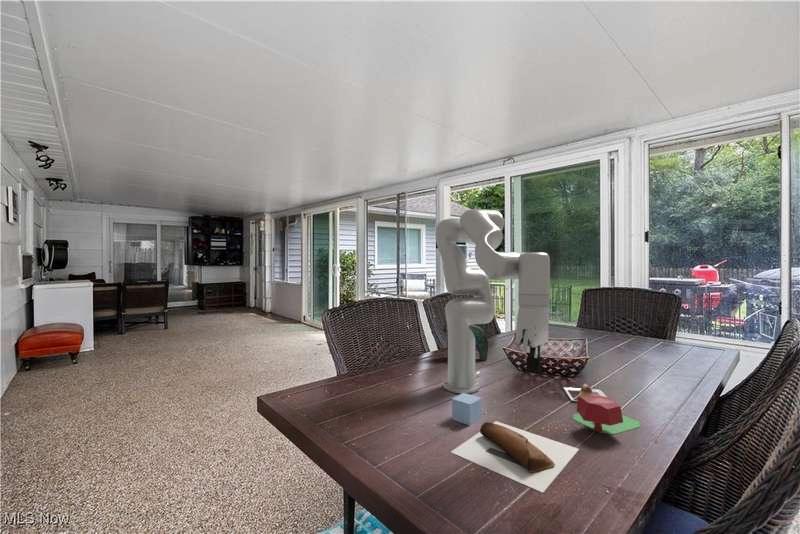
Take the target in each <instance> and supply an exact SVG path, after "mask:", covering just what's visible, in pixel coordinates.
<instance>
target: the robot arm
mask: <svg viewBox="0 0 800 534" xmlns="http://www.w3.org/2000/svg"><path fill="white" fill-rule="evenodd" d="M504 226H505V220H504V217H503V215H502V214H501V212H500V211H498V210H495V209H485V208H484V209H483V208H472V209H467V210H466V211H464V212H462V214H461V215H460V218H446V219H442V220H441V221H440V222H439V223H438V224H437V225H436V229H435V236H434V237H435V243H436V247H437V249H438V252H439V254H440V255H439V256H440V257H441V261H442V268H443V275H444V282H445V288H446V291H447V292H448V294H450V295H454V296H455V295H456V296H459V295H460V296H462V295H463V296H465V295H472V296H473V297H458V298H454V299H451V300H449V301H448V302H447V303H445V307H444V308H445V309H444V313H445V319H446V320H445V322H446V321H447V328H448V335H447V339H448V359H447V379H446V380H445V381H443V388H444V389H445V390H446V391H448V392H450V393H451V392H452V393H454V394H462V393H466V394H472V393H473V394H474V393H476V392H478V391H480V387H481V386H480V383H479V382H478V381H476V379H477V378H479V377H481V372H480V371H476V347H475V336H474V334H473V332H472V331H471V329H470V328H469V325H475V326H476V325H477V324H481V325H484V324H489V323H491V322H492V321H493V319H494V317H495V306H494V299H493V295H492V294H493V293H492V288H491V283H490V282H491V281H490V279H491V280H495V281H499V280H500V281H503V280H506V281H507V280H514V281H515V280H518V285H517V286H518V287H517V288H518V292H517V293H518V294H517V296H518V299H517V300H518V302H517V303H518V305H517V306H518V310H517V316H516V328H515V344H516V346H521V345H522V352H523V353H525V359H526V360H525V361H526V362H525V364H526V366H525V368H526V370H525V371H526V372H528V373H531V374H537V375H538V374H540V373H541V372H542V355H543V347H544V345H545V343H547V342H548V341H549V334H550V331H549V330H550V327H549V323H550V322H549V311H548V309H549V308H550V307H551V305H550V304H551V303H550V300H551V299H550V297H551V295H550V294H551V292H550V291H551V290H550V289H551V285H550V284H551V275H550V274H551V260H550V259H551V258H550V255H549V254H548V253H547V252H539V251H538V252H533V251H531V252H525V251H524V252H523V251H496V250H497V248H499V246H501V244H502V242H503V240H504V239H503V237H504V235H503V230H504ZM457 243H468V244H469V243H472V244H473V243H474V246H475V247H474V258H475V262H476V265H477V266H478V267H479V268H476V267H475V268H473V267H470V268H469V267H468V265H467V259H466V255H465V253H464V252H463V250H462V249H461V248H460V246H459V245H457Z"/></svg>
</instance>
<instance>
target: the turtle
mask: <svg viewBox="0 0 800 534" xmlns="http://www.w3.org/2000/svg"><path fill="white" fill-rule="evenodd" d="M577 400H578V401H577V402H576V403H577V405H576V412H577V413H574V414H572V415H573V416H572V420H573V421H576V422H577V423H580V424H582V425H583V426H586V427H587V428H589V429H591V430H594V431H596V432H598V433H599V434H608V435H617V434H621V433H625V432H627V431H631V430H635V429H639V428H641V425H640V421H637V420H635V419H633V418H630V417H628V416H626V415H624V414H623V413H622V407H621V405H620V404H618V402H616V401H615V400H613V399H612V398H611V397H608V396H606V397H604V396H600V395H599V394H597V393H593V394H592V395H587V396H582V397H580V396H578V397H577Z"/></svg>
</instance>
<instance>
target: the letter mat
mask: <svg viewBox="0 0 800 534" xmlns="http://www.w3.org/2000/svg"><path fill="white" fill-rule="evenodd" d="M493 423H494V424H498V425H501V426H504V427H506V428H509V429H511V430H513V431H515V432H517V433H519V434H521V435H523V436H524V437H525V438H527V439H528V441H529V442H530V443H532V444H533V445H534V446H535V447H537V448H538V449H539V450H541V451H542V452H543V453H544V454H545V455H547V456H548V457H549V458H550V459H551V460H552V461H553V462H554V464H555V466H553V467H551V468H549V469H546V470H543V471H540V472H534V473H530V472H529V471H528V469H526V468H524V467H523V466H522V465H521V464H520V463H519V462H517V461H516V460H515V459H514V458H512V457H511V456H510V455H509V454H508V453H507V452H505V451H504V450H502V449H501V448H500V447H499V446H497V445H496V444H495V443H493V442H492V441H491V440H489V439H488V438H486V437H485V436H483V435H482V434H481V433H480V431H479V432H477V433H476V434H474V435H473V436H471V438H469V439H467V440H466V441H464V442H463V443H461V444H460V445H458V446H457V447H456V448H454V449H452V450H451V451H450V453H451V454H453V455H456V456H458V457H460V458H462V459H463V460H464V459H465V460H467V461H470V462H471V463H473V464H476V465H479V466H480V467H483V468H486V469H487V470H490V471H492V472H495V473H496V474H499V475H501V476H504V477H505V478H507V479H509V480H512V481H515V482H517V483H519V484H522V485H524V486H527V488H530V489H533V490H535V491H537V492H540V493H542V494H544V493H545V491H546V490H547V489H548V488H549V486H551V484H552V483H553V482H554V480H556V479H557V477H558V476H559V475H560V473H561V472H563V470H564V468H566V466H567V465H568V464H569V463H570V461H571V460H572V459H573V458H574V456H575V455H576V454H577V453H578V452H579V450H580V449H579V448H578V447H574V446H571V445H570V444H569V445H568V444H565V443H563V442H560V441H556V440H554V439H552V438H548V437H544V436H541V435H539V434H535V433H532V432H529V431H528V430H527V431H526V430H523V429H520V428H517V427H515V426H512V425H509V424H505V423H504V422H503V423H502V422H500V421H497V420H495V421H494V422H493Z"/></svg>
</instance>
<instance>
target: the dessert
mask: <svg viewBox="0 0 800 534" xmlns="http://www.w3.org/2000/svg"><path fill="white" fill-rule="evenodd" d="M562 388H563V390H564V391H565V393H566V394H567V397H568V398H569V399H570V401H572V402H576V403H577V401H578V399H577V400H576V399H575V398H573V396H572V394H571V393H570V392H569V391H572V392H573V391H575V392H579V394H578V397H582V396H587V395H592V394H594V393H597V395H600V396H604V397H607V395H606V394H605V393H604V392H603V391H602V390H601V389H593V388H591V387H590V386H589V383H588V384H587V383H584V384H583V385H582V386H581V388H578V387H566V386H563V387H562Z"/></svg>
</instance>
